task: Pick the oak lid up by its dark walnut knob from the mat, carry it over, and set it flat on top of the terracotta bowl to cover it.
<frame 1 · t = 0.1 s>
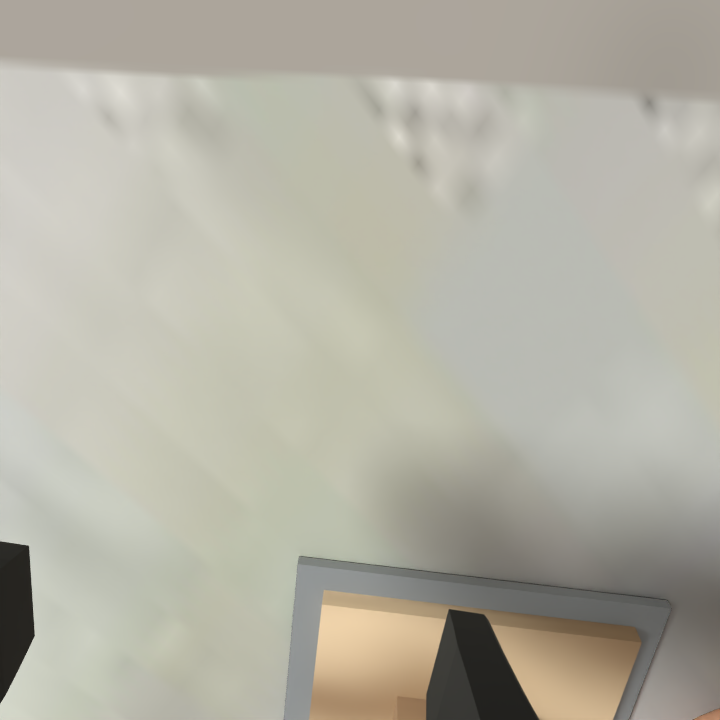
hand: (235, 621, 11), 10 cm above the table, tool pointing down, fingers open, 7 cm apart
oak lid: (453, 717, 26), resting on mat
mat: (452, 708, 26), on the table
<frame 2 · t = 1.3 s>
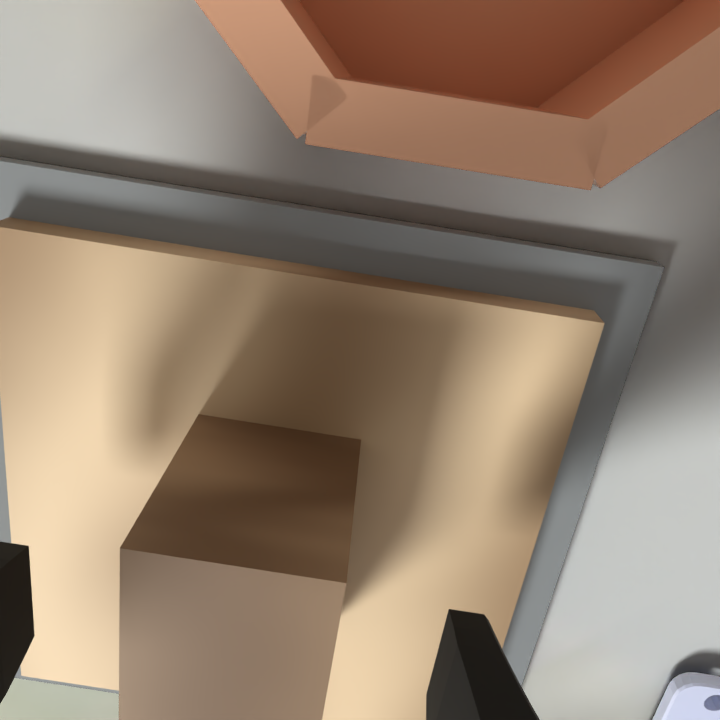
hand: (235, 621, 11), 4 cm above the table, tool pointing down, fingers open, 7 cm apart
oak lid: (274, 506, 15), resting on mat
mat: (277, 495, 15), on the table
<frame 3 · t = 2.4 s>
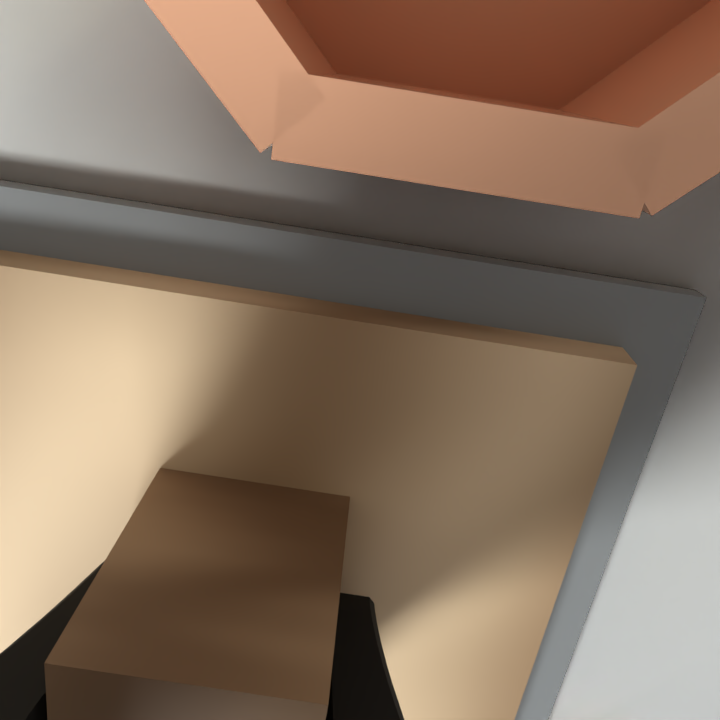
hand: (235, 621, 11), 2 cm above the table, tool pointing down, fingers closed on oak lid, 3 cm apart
oak lid: (251, 566, 13), resting on mat, touching gripper
mat: (255, 552, 13), on the table
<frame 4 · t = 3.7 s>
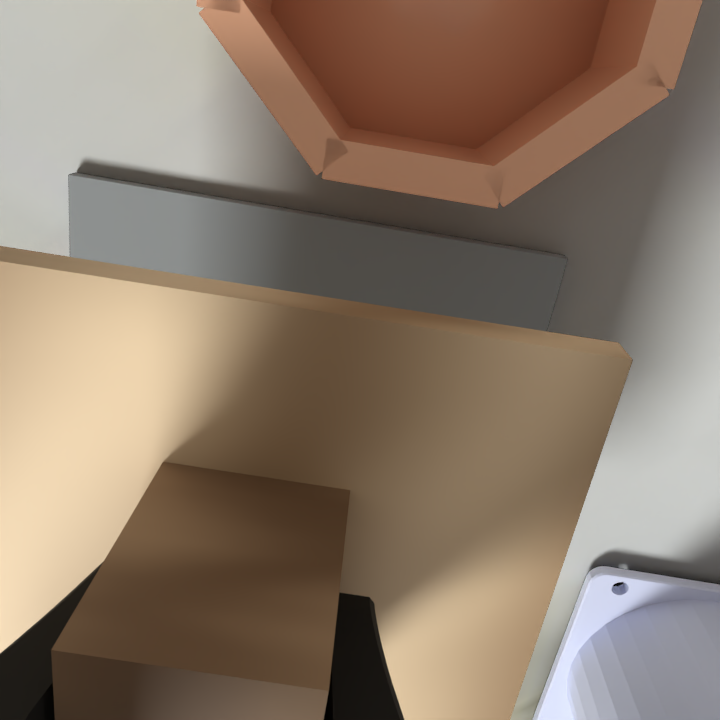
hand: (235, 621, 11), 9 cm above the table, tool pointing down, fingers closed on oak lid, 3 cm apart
oak lid: (253, 559, 13), point 7 cm above the table, touching gripper
mat: (292, 427, 20), on the table
when the fingers open (6 cm above the table, at t = 5.2 s): oak lid stays where it is, resting on terracotta bowl.
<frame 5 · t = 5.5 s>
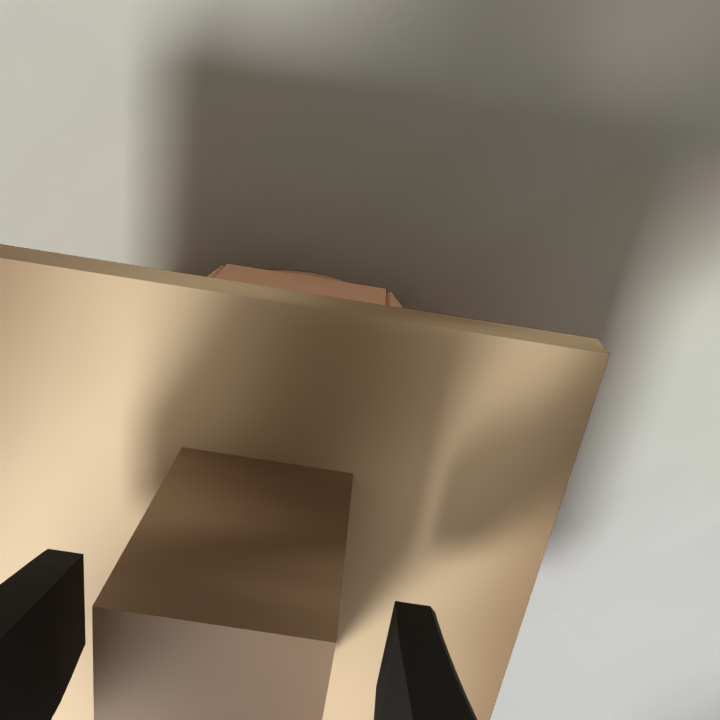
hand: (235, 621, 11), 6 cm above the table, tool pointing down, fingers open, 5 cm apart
oak lid: (262, 539, 14), point 4 cm above the table, touching terracotta bowl
terracotta bowl: (290, 431, 17), on the table, touching oak lid
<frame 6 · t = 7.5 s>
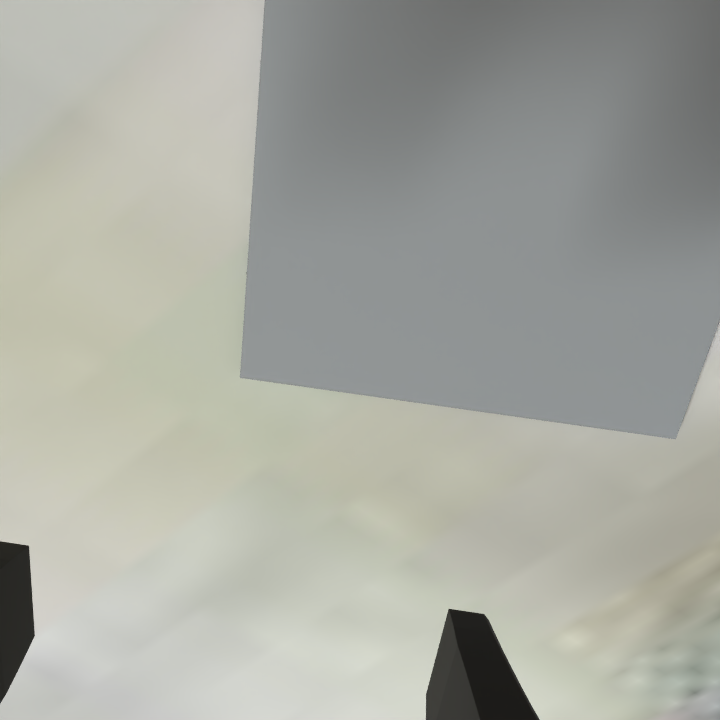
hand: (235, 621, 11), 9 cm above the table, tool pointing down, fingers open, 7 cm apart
mat: (503, 183, 17), on the table
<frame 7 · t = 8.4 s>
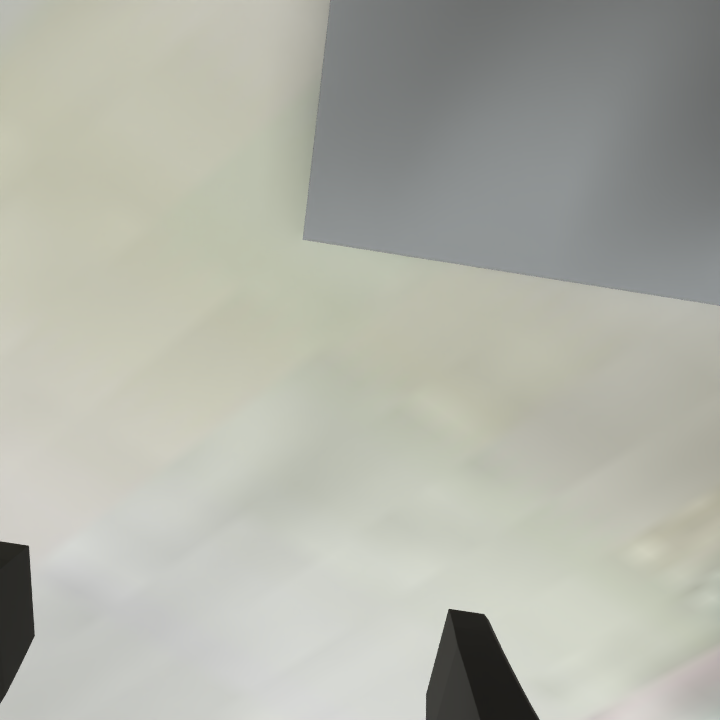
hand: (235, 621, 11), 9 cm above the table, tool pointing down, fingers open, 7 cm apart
mat: (608, 9, 16), on the table
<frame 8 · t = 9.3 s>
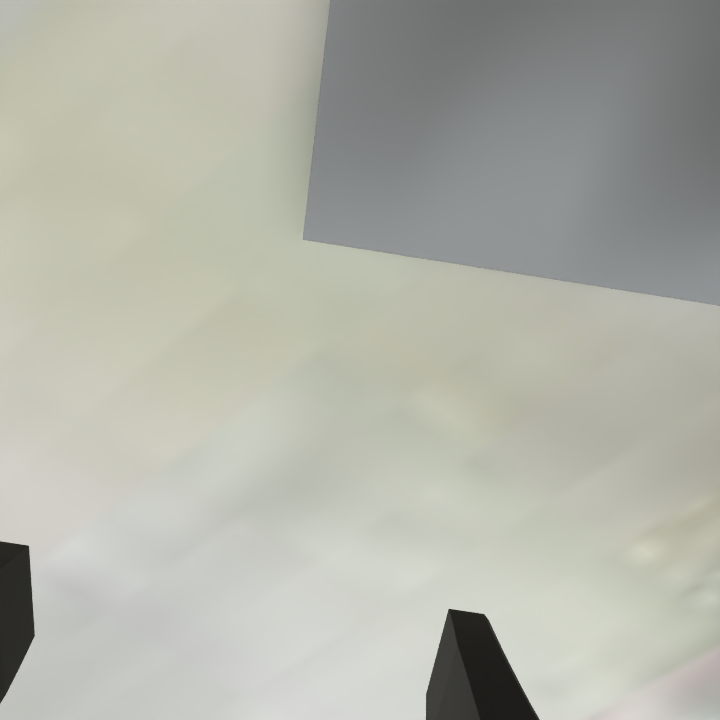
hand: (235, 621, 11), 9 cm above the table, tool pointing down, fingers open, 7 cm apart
mat: (608, 9, 16), on the table
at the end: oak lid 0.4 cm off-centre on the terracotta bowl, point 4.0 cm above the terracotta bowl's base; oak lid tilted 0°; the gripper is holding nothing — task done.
